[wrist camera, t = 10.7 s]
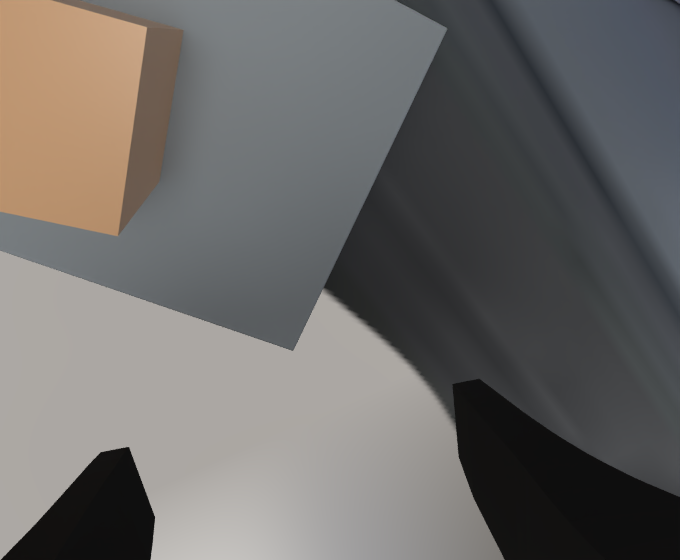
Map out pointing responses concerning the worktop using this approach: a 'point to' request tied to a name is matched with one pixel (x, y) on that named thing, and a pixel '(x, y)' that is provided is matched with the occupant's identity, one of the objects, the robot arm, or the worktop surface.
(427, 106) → the worktop surface
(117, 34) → the tan wooden cube
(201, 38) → the board
